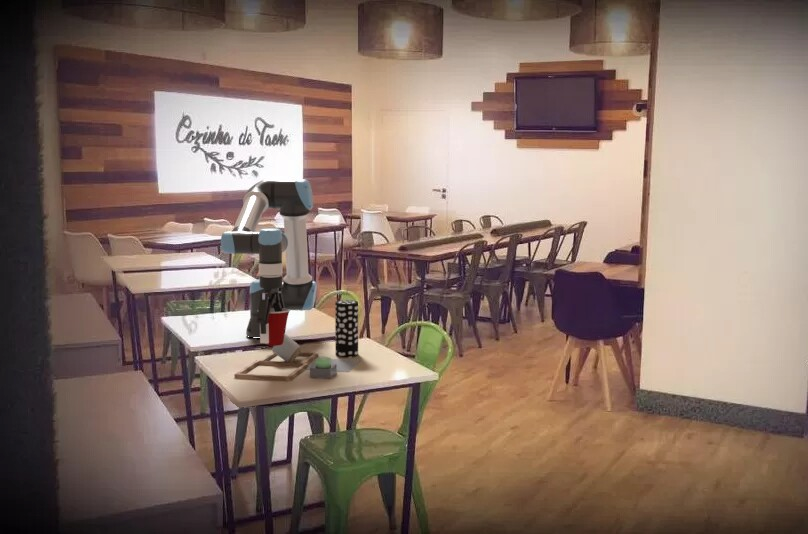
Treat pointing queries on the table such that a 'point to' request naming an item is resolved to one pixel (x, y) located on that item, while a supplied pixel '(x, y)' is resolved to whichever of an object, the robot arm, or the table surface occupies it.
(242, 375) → the wooden rectangular frame
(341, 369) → the mat
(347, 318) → the white-spotted black cylinder
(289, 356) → the ceramic mug
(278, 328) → the plastic cup
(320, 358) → the button
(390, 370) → the table surface
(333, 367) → the button base
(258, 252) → the robot arm
